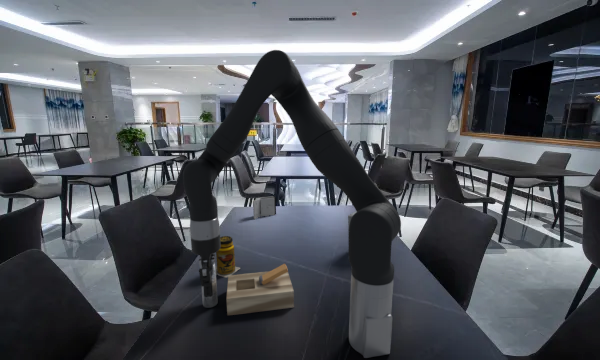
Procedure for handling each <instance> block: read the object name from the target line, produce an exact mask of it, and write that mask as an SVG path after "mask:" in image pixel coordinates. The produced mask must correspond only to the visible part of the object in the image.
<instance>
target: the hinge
mask: <svg viewBox="0 0 600 360" xmlns="http://www.w3.org/2000/svg"><path fill="white" fill-rule="evenodd" d="M252 206H253V209H252V210H253V220H256V218H257V219H259V218H263V217H262V216H265V217H270V216H269V215H273V216H276V215H277V198H276V196H273V195H272V196H262V197H256V198H255V200H253V202H252ZM275 214H276V215H275ZM260 216H261V217H260ZM258 217H259V218H258Z"/></svg>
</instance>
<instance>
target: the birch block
mask: <svg viewBox="0 0 600 360" xmlns="http://www.w3.org/2000/svg"><path fill="white" fill-rule="evenodd" d="M270 271H271V270H269V271H259V272H251V273H250V272H249V273H248V272H247V273H240V274H232V275H228V277H227V288H226V289H227V290H226V312H227V313H226V315H227V316H228V317H229V316H233V315H234V316H235V315H243V314H251V313H258V312H259V313H261V312H267V311H274V310H282V309H283V310H284V309H290V308H295V303H294V302H295V299H294V298H295V297H294V296H295V292H294V287H293V284H292V281H291V277H290V274H289V271H288V272H287V273H285V274H283V275H281V276H279V277H277V278H275V279H274V280H272V281H270V282H268V283H266V284H264V285H260V282H259V277H260V276H261V275H264V274H266V273H268V272H270Z"/></svg>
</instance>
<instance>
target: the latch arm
mask: <svg viewBox="0 0 600 360" xmlns="http://www.w3.org/2000/svg"><path fill="white" fill-rule="evenodd" d="M269 271H270V272H268V271H267V272H268V273H266V274H264V275H261V276H260V277H259V282H260V285H264V284H266V283H268V282H270V281H272V280H274V279H275V278H277V277H279V276H281V275H283V274H285V273H287V272H288V273H289V269H288V266H287V265H286V263H283V264H281V265H279V266H277V267H275V268H274V269H271V270H269Z"/></svg>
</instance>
